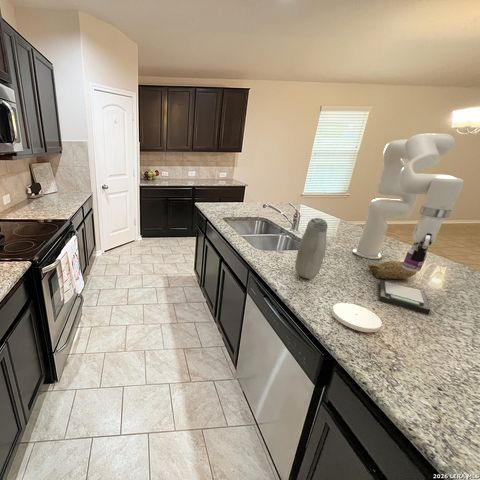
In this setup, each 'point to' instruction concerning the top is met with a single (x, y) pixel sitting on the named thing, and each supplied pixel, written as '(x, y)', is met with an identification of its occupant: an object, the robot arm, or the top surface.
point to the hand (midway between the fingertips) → (415, 257)
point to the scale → (403, 297)
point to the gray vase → (312, 249)
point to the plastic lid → (356, 317)
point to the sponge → (390, 270)
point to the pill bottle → (410, 264)
